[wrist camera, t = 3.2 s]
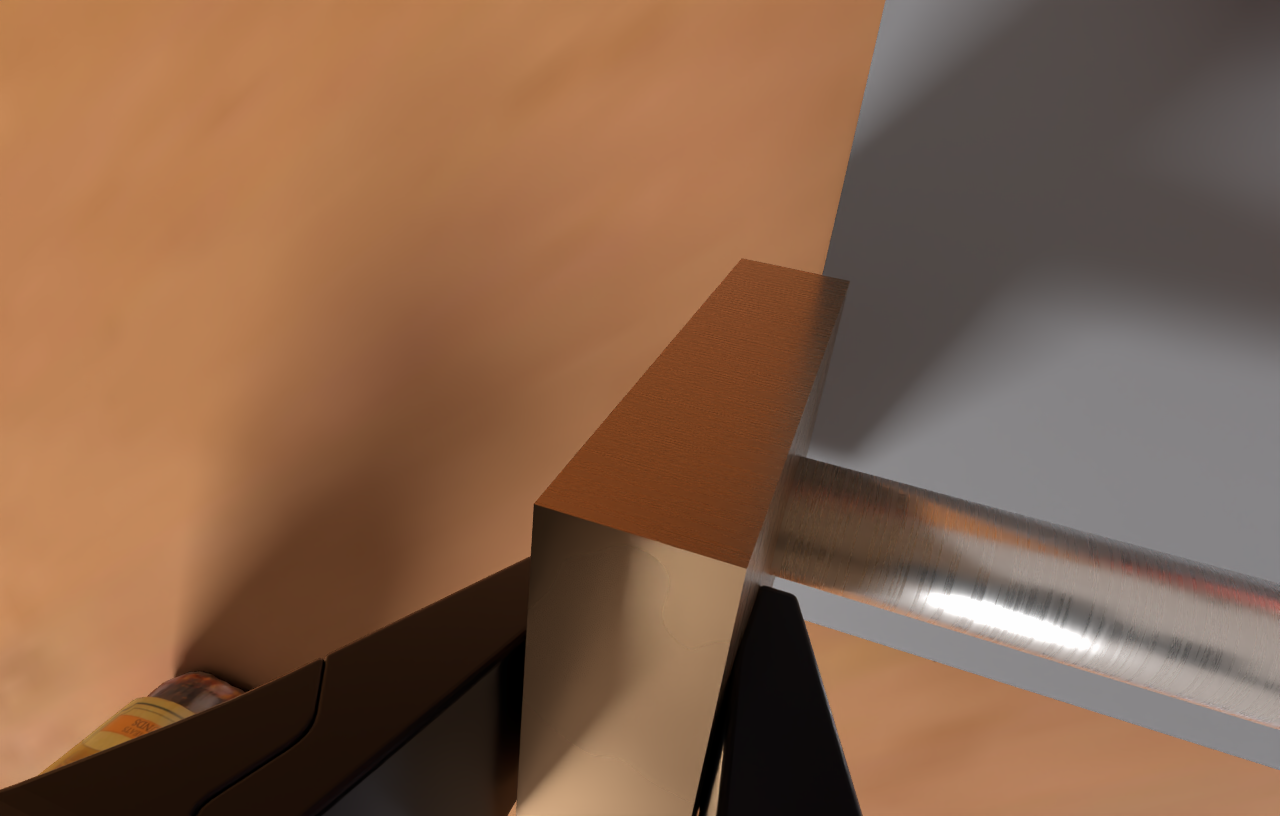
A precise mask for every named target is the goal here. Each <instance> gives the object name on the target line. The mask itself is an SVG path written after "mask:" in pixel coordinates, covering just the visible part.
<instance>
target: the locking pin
mask: <svg viewBox="0 0 1280 816" xmlns="http://www.w3.org/2000/svg"><path fill="white" fill-rule="evenodd" d="M849 284H850V281H848V280H843V279H838V278H833V277H828V276H824V275H819V274H814V273H809V272H805V271H800V270H795V269H790V268H785V267H781V266H776V265H771V264H766V263H761V262H757V261H752V260H747V259H741V260H740V261H739V262H738V264H737V265H736V266H735V267H734V268H733V270H732V271H731V272H730V273H729V274H728V275H727V277H726V278H725V279H724V280H723V281H722V283H721V284H720V285H719V286H718V287H717V288H716V290H715V291H714V292H713V293H712V294H711V296H710V297H709V298H708V299H707V300H706V301H705V303H704V304H703V305H702V306H701V307H700V309H699V310H698V311H697V312H696V313H695V314H694V316H693V317H692V318H691V319H690V320H689V321H688V323H687V324H686V325H685V326H684V327H683V329H682V330H681V331H680V332H679V333H678V334H677V336H676V337H675V338H674V339H673V340H672V342H671V343H670V344H669V345H668V346H667V347H666V349H665V350H664V351H663V352H662V353H661V355H660V356H659V357H658V358H657V359H656V360H655V362H654V363H653V364H652V365H651V366H650V368H649V369H648V370H647V371H646V372H645V373H644V375H643V376H642V377H641V378H640V379H639V381H638V382H637V383H636V384H635V385H634V386H633V388H632V389H631V390H630V391H629V392H628V394H627V395H626V396H625V397H624V398H623V399H622V401H621V402H620V403H619V404H618V405H617V406H616V408H615V409H614V410H613V411H612V412H611V414H610V415H609V416H608V417H607V418H606V419H605V421H604V422H603V423H602V424H601V425H600V427H599V428H598V429H597V430H596V431H595V432H594V434H593V435H592V436H591V437H590V438H589V440H588V441H587V442H586V443H585V444H584V445H583V447H582V448H581V449H580V450H579V451H578V453H577V454H576V455H575V456H574V457H573V458H572V460H571V461H570V462H569V463H568V464H567V466H566V467H565V468H564V469H563V470H562V471H561V473H560V474H559V475H558V476H557V477H556V478H555V480H554V481H553V482H552V483H551V484H550V486H549V487H548V488H547V489H546V490H545V491H544V493H543V494H542V495H541V496H540V497H539V499H538V500H537V501H536V502H535V503H534V512H533V529H532V546H531V563H530V581H529V598H528V615H527V633H526V650H525V667H524V685H523V702H522V719H521V737H520V754H519V771H518V789H517V806H516V816H698V814H699V808H700V803H701V799H702V795H703V790H704V786H705V782H706V777H707V773H708V769H709V765H710V760H711V756H712V752H713V747H714V743H715V739H716V734H717V730H718V726H719V721H720V717H721V713H722V708H723V704H724V700H725V695H726V691H727V687H728V683H729V678H730V674H731V670H732V667H733V663H734V660H735V657H736V654H737V651H738V648H739V646H740V643H741V640H742V637H743V634H744V631H745V628H746V626H747V623H748V620H749V617H750V614H751V611H752V609H753V606H754V603H755V600H756V597H757V594H758V591H759V589H760V586H763V585H765V586H769V587H773V583H774V580H775V577H779V578H783V579H786V580H789V581H793V582H796V583H799V584H802V585H806V586H809V587H812V588H816V589H819V590H822V591H825V592H829V593H832V594H835V595H838V596H842V597H845V598H848V599H852V600H855V601H858V602H861V603H865V604H868V605H871V606H875V607H878V608H881V609H884V610H888V611H891V612H894V613H897V614H901V615H904V616H907V617H911V618H914V619H917V620H920V621H924V622H927V623H930V624H933V625H937V626H940V627H943V628H947V629H950V630H953V631H956V632H960V633H963V634H966V635H970V636H973V637H976V638H979V639H983V640H986V641H989V642H992V643H996V644H999V645H1002V646H1006V647H1009V648H1012V649H1015V650H1019V651H1022V652H1025V653H1029V654H1032V655H1035V656H1038V657H1042V658H1045V659H1048V660H1051V661H1055V662H1058V663H1061V664H1065V665H1068V666H1071V667H1074V668H1078V669H1081V670H1084V671H1088V672H1091V673H1094V674H1097V675H1101V676H1104V677H1107V678H1110V679H1114V680H1117V681H1120V682H1124V683H1127V684H1130V685H1133V686H1137V687H1140V688H1143V689H1147V690H1150V691H1153V692H1156V693H1160V694H1163V695H1166V696H1169V697H1173V698H1176V699H1179V700H1183V701H1186V702H1189V703H1192V704H1196V705H1199V706H1202V707H1206V708H1209V709H1212V710H1215V711H1219V712H1222V713H1225V714H1228V715H1232V716H1235V717H1238V718H1242V719H1245V720H1248V721H1251V722H1255V723H1258V724H1261V725H1265V726H1268V727H1271V728H1274V729H1278V730H1280V583H1276V582H1273V581H1269V580H1265V579H1261V578H1258V577H1254V576H1250V575H1246V574H1243V573H1239V572H1235V571H1231V570H1227V569H1224V568H1220V567H1216V566H1212V565H1209V564H1205V563H1201V562H1197V561H1194V560H1190V559H1186V558H1182V557H1179V556H1175V555H1171V554H1167V553H1164V552H1160V551H1156V550H1152V549H1148V548H1145V547H1141V546H1137V545H1133V544H1130V543H1126V542H1122V541H1118V540H1115V539H1111V538H1107V537H1103V536H1100V535H1096V534H1092V533H1088V532H1085V531H1081V530H1077V529H1073V528H1069V527H1066V526H1062V525H1058V524H1054V523H1051V522H1047V521H1043V520H1039V519H1036V518H1032V517H1028V516H1024V515H1021V514H1017V513H1013V512H1009V511H1006V510H1002V509H998V508H994V507H990V506H987V505H983V504H979V503H975V502H972V501H968V500H964V499H960V498H957V497H953V496H949V495H945V494H942V493H938V492H934V491H930V490H927V489H923V488H919V487H915V486H911V485H908V484H904V483H900V482H896V481H893V480H889V479H885V478H881V477H878V476H874V475H870V474H866V473H863V472H859V471H855V470H851V469H848V468H844V467H840V466H836V465H832V464H829V463H825V462H821V461H817V460H814V459H810V458H806V457H807V453H808V449H809V445H810V441H811V437H812V433H813V429H814V425H815V421H816V417H817V412H818V408H819V404H820V400H821V396H822V392H823V388H824V384H825V380H826V376H827V372H828V368H829V364H830V360H831V356H832V352H833V348H834V344H835V340H836V336H837V332H838V328H839V324H840V320H841V316H842V312H843V308H844V304H845V300H846V296H847V292H848V288H849Z"/></svg>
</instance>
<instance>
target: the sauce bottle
mask: <svg viewBox="0 0 1280 816" xmlns="http://www.w3.org/2000/svg"><path fill="white" fill-rule="evenodd" d="M244 693H246V692H244V691H243V690H241V689H239V688H236V687H233V686H231V685H230V684H229V683H227V682H225V681H222V680H220V679H218V678H216V677H215V676H213V675H212V674H208V673H204V672H202V671H198V672H188V673H186V674H183V675H181V676H179V677H176V678H172V679H170V680H168V681H166V682H164V683H162V684H161V685H160V686H159V687H158V688H156V689H155V690H154V691H153V692H151V693H150V694H149V695H148V696H147V697H142V698H137V699H135V700H133V701H131V702H130V703H129V704H128V705H126V706H125V707H124V708H122V709H121V710H120V711H119V712H117V713H116V714H115V715H113V716H112V717H111V718H110V719H108V720H107V721H106V722H105V723H103V724H102V725H101V726H99V727H98V728H97V729H96V730H95V731H93V732H92V733H91V734H90V735H88V736H87V737H86V738H85V739H83V740H82V741H81V742H80V743H79V744H77V745H76V746H75V747H73V748H72V749H71V750H70V751H68V752H67V753H66V754H64V755H63V756H62V757H61V758H59V759H58V760H57V761H56V762H54V763H53V764H52V765H50V766H49V767H48V768H47V769H45V770H44V771H43V772H41V773H40V774H39V775H41V774H43V773H46V772H49V771H51V770H54V769H56V768H59V767H61V766H64V765H67V764H69V763H72V762H74V761H77V760H79V759H82V758H85V757H87V756H90V755H92V754H95V753H97V752H100V751H103V750H105V749H108V748H110V747H113V746H115V745H118V744H121V743H123V742H126V741H128V740H131V739H133V738H136V737H139V736H141V735H144V734H146V733H149V732H151V731H154V730H157V729H159V728H162V727H164V726H167V725H169V724H172V723H174V722H177V721H179V720H182V719H184V718H187V717H189V716H191V715H194V714H196V713H199V712H201V711H204V710H206V709H208V708H211V707H213V706H216V705H218V704H221V703H223V702H226V701H228V700H230V699H233V698H235V697H237V696H239V695H241V694H244Z"/></svg>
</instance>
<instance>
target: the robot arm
mask: <svg viewBox="0 0 1280 816" xmlns="http://www.w3.org/2000/svg"><path fill="white" fill-rule="evenodd" d="M530 563H531V556H530V557H528V558H526V559H524V560H522V561H520V562H517V563H515V564H513V565H511V566H509V567H507V568H505V569H503V570H501V571H499V572H497V573H495V574H493V575H491V576H488V577H486V578H484V579H482V580H480V581H478V582H476V583H474V584H472V585H470V586H468V587H466V588H464V589H462V590H460V591H457V592H455V593H453V594H451V595H449V596H447V597H445V598H443V599H441V600H439V601H437V602H435V603H433V604H431V605H429V606H426V607H424V608H422V609H420V610H418V611H416V612H414V613H412V614H410V615H408V616H406V617H404V618H402V619H400V620H398V621H395V622H393V623H391V624H389V625H387V626H385V627H383V628H381V629H379V630H377V631H375V632H373V633H371V634H369V635H367V636H364V637H362V638H360V639H358V640H356V641H354V642H352V643H350V644H348V645H346V646H344V647H342V648H340V649H338V650H335V651H333V652H331V653H329V654H328V655H327V656H326V658H325V661H324V660H323V659H321V658H319V659H316V660H314V661H312V662H310V663H308V664H306V665H304V666H302V667H300V668H298V669H296V670H294V671H291V672H289V673H287V674H285V675H283V676H281V677H279V678H276V679H274V680H272V681H270V682H268V683H266V684H263V685H261V686H259V687H257V688H255V689H252V690H250V691H248V692H246V693H244V694H241V695H239V696H237V697H235V698H233V699H230V700H228V701H226V702H223V703H221V704H218V705H216V706H213V707H211V708H208V709H206V710H204V711H201V712H199V713H196V714H194V715H191V716H189V717H187V718H184V719H182V720H179V721H177V722H174V723H172V724H169V725H167V726H164V727H162V728H159V729H157V730H154V731H151V732H149V733H146V734H144V735H141V736H139V737H136V738H133V739H131V740H128V741H126V742H123V743H121V744H118V745H115V746H113V747H110V748H108V749H105V750H103V751H100V752H97V753H95V754H92V755H90V756H87V757H85V758H82V759H79V760H77V761H74V762H72V763H69V764H67V765H64V766H61V767H59V768H56V769H54V770H51V771H49V772H46V773H43V774H41V775H38V776H36V777H33V778H31V779H28V780H25V781H23V782H20V783H18V784H15V785H12V786H9V787H6V788H4V789H1V790H0V816H507V815H508V814H509V812H510V810H511V809H512V807H513V805H514V804H515V802H516V800H517V789H518V771H519V754H520V737H521V719H522V702H523V685H524V667H525V650H526V633H527V615H528V598H529V581H530ZM698 816H863V815H862V812H861V809H860V805H859V802H858V799H857V795H856V792H855V789H854V785H853V782H852V779H851V775H850V772H849V769H848V765H847V762H846V759H845V755H844V752H843V749H842V745H841V742H840V739H839V735H838V732H837V729H836V725H835V722H834V719H833V715H832V712H831V709H830V705H829V702H828V699H827V695H826V692H825V689H824V685H823V682H822V679H821V675H820V672H819V669H818V665H817V662H816V659H815V655H814V652H813V649H812V645H811V642H810V639H809V635H808V632H807V629H806V625H805V622H804V619H803V615H802V612H801V609H800V605H799V602H798V600H797V598H796V596H795V595H793V594H791V593H788V592H785V591H782V590H778V589H775V588H772V587H769V586H765V585H763V586H760V589H759V591H758V594H757V597H756V600H755V603H754V606H753V609H752V611H751V614H750V617H749V620H748V623H747V626H746V628H745V631H744V634H743V637H742V640H741V643H740V646H739V648H738V651H737V654H736V657H735V660H734V663H733V667H732V670H731V674H730V678H729V683H728V687H727V691H726V695H725V700H724V704H723V708H722V713H721V717H720V721H719V726H718V730H717V734H716V739H715V743H714V747H713V752H712V756H711V760H710V765H709V769H708V773H707V777H706V782H705V786H704V790H703V795H702V799H701V803H700V808H699V814H698Z"/></svg>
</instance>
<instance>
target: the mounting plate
mask: <svg viewBox="0 0 1280 816" xmlns="http://www.w3.org/2000/svg"><path fill="white" fill-rule="evenodd" d="M823 275H824V276H828V277H833V278H838V279H843V280H848V281H850V284H849V288H848V292H847V296H846V300H845V304H844V308H843V312H842V316H841V320H840V324H839V328H838V332H837V336H836V340H835V344H834V348H833V352H832V356H831V360H830V364H829V368H828V372H827V376H826V380H825V384H824V388H823V392H822V396H821V400H820V404H819V408H818V412H817V417H816V421H815V425H814V429H813V433H812V437H811V441H810V445H809V449H808V453H807V457H806V458H810V459H814V460H817V461H821V462H825V463H829V464H832V465H836V466H840V467H844V468H848V469H851V470H855V471H859V472H863V473H866V474H870V475H874V476H878V477H881V478H885V479H889V480H893V481H896V482H900V483H904V484H908V485H911V486H915V487H919V488H923V489H927V490H930V491H934V492H938V493H942V494H945V495H949V496H953V497H957V498H960V499H964V500H968V501H972V502H975V503H979V504H983V505H987V506H990V507H994V508H998V509H1002V510H1006V511H1009V512H1013V513H1017V514H1021V515H1024V516H1028V517H1032V518H1036V519H1039V520H1043V521H1047V522H1051V523H1054V524H1058V525H1062V526H1066V527H1069V528H1073V529H1077V530H1081V531H1085V532H1088V533H1092V534H1096V535H1100V536H1103V537H1107V538H1111V539H1115V540H1118V541H1122V542H1126V543H1130V544H1133V545H1137V546H1141V547H1145V548H1148V549H1152V550H1156V551H1160V552H1164V553H1167V554H1171V555H1175V556H1179V557H1182V558H1186V559H1190V560H1194V561H1197V562H1201V563H1205V564H1209V565H1212V566H1216V567H1220V568H1224V569H1227V570H1231V571H1235V572H1239V573H1243V574H1246V575H1250V576H1254V577H1258V578H1261V579H1265V580H1269V581H1273V582H1276V583H1280V0H886V1H885V6H884V10H883V14H882V19H881V23H880V27H879V32H878V36H877V40H876V45H875V49H874V53H873V58H872V62H871V66H870V71H869V75H868V79H867V84H866V88H865V92H864V97H863V101H862V106H861V110H860V114H859V119H858V123H857V127H856V132H855V136H854V140H853V145H852V149H851V153H850V158H849V162H848V166H847V171H846V175H845V179H844V184H843V188H842V192H841V197H840V201H839V205H838V210H837V214H836V218H835V223H834V227H833V231H832V236H831V240H830V245H829V249H828V253H827V258H826V262H825V266H824V271H823ZM772 588H775V589H778V590H782V591H785V592H788V593H791V594H793V595H795V596H796V598H797V600H798V602H799V605H800V609H801V612H802V615H803V619H804V620H806V621H809V622H812V623H816V624H819V625H822V626H825V627H828V628H831V629H835V630H838V631H841V632H844V633H847V634H850V635H854V636H857V637H860V638H863V639H866V640H869V641H873V642H876V643H879V644H882V645H885V646H888V647H892V648H895V649H898V650H901V651H904V652H907V653H911V654H914V655H917V656H920V657H923V658H926V659H930V660H933V661H936V662H939V663H942V664H945V665H949V666H952V667H955V668H958V669H961V670H964V671H968V672H971V673H974V674H977V675H980V676H983V677H987V678H990V679H993V680H996V681H999V682H1002V683H1006V684H1009V685H1012V686H1015V687H1018V688H1021V689H1025V690H1028V691H1031V692H1034V693H1037V694H1040V695H1044V696H1047V697H1050V698H1053V699H1056V700H1059V701H1063V702H1066V703H1069V704H1072V705H1075V706H1078V707H1082V708H1085V709H1088V710H1091V711H1094V712H1097V713H1101V714H1104V715H1107V716H1110V717H1113V718H1116V719H1120V720H1123V721H1126V722H1129V723H1132V724H1135V725H1139V726H1142V727H1145V728H1148V729H1151V730H1154V731H1158V732H1161V733H1164V734H1167V735H1170V736H1173V737H1177V738H1180V739H1183V740H1186V741H1189V742H1192V743H1196V744H1199V745H1202V746H1205V747H1208V748H1211V749H1215V750H1218V751H1221V752H1224V753H1227V754H1230V755H1234V756H1237V757H1240V758H1243V759H1246V760H1249V761H1253V762H1256V763H1259V764H1262V765H1265V766H1268V767H1272V768H1275V769H1278V770H1280V730H1278V729H1274V728H1271V727H1268V726H1265V725H1261V724H1258V723H1255V722H1251V721H1248V720H1245V719H1242V718H1238V717H1235V716H1232V715H1228V714H1225V713H1222V712H1219V711H1215V710H1212V709H1209V708H1206V707H1202V706H1199V705H1196V704H1192V703H1189V702H1186V701H1183V700H1179V699H1176V698H1173V697H1169V696H1166V695H1163V694H1160V693H1156V692H1153V691H1150V690H1147V689H1143V688H1140V687H1137V686H1133V685H1130V684H1127V683H1124V682H1120V681H1117V680H1114V679H1110V678H1107V677H1104V676H1101V675H1097V674H1094V673H1091V672H1088V671H1084V670H1081V669H1078V668H1074V667H1071V666H1068V665H1065V664H1061V663H1058V662H1055V661H1051V660H1048V659H1045V658H1042V657H1038V656H1035V655H1032V654H1029V653H1025V652H1022V651H1019V650H1015V649H1012V648H1009V647H1006V646H1002V645H999V644H996V643H992V642H989V641H986V640H983V639H979V638H976V637H973V636H970V635H966V634H963V633H960V632H956V631H953V630H950V629H947V628H943V627H940V626H937V625H933V624H930V623H927V622H924V621H920V620H917V619H914V618H911V617H907V616H904V615H901V614H897V613H894V612H891V611H888V610H884V609H881V608H878V607H875V606H871V605H868V604H865V603H861V602H858V601H855V600H852V599H848V598H845V597H842V596H838V595H835V594H832V593H829V592H825V591H822V590H819V589H816V588H812V587H809V586H806V585H802V584H799V583H796V582H793V581H789V580H786V579H783V578H779V577H775V580H774V583H773V587H772Z"/></svg>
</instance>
